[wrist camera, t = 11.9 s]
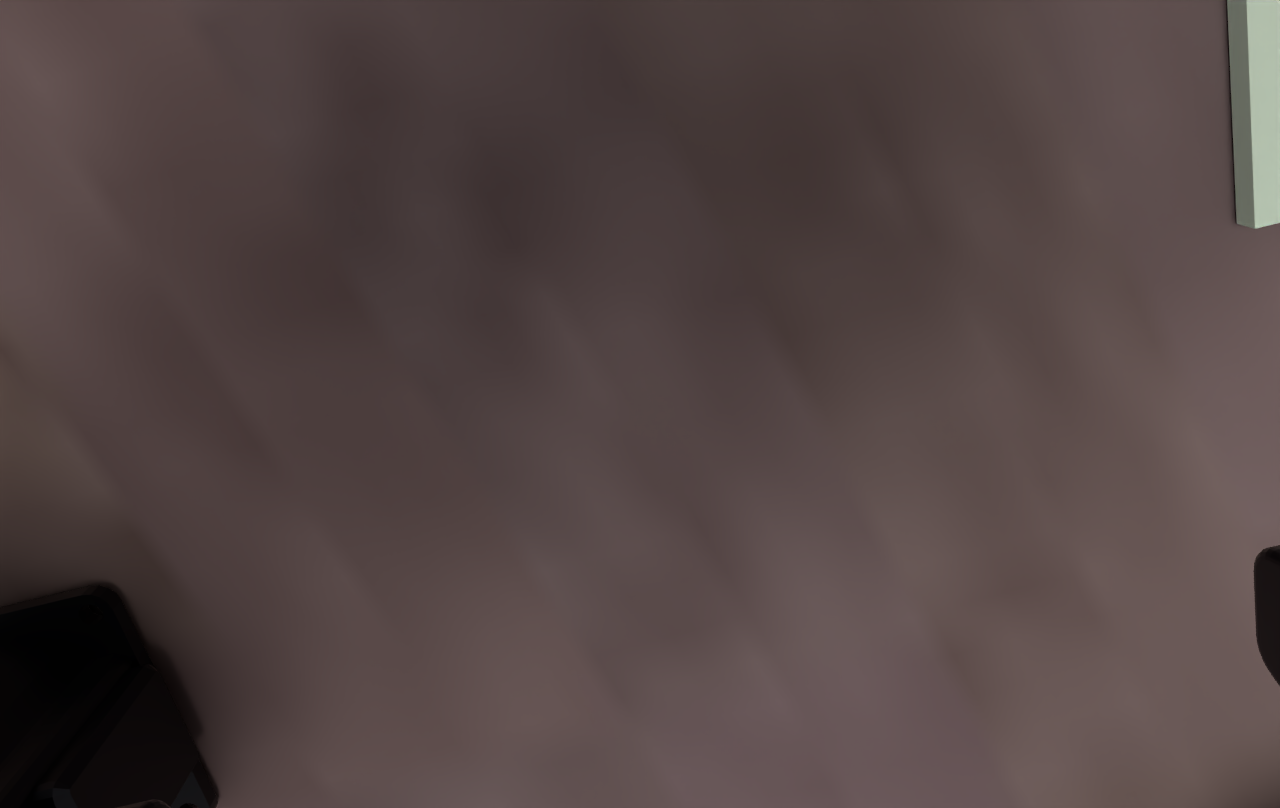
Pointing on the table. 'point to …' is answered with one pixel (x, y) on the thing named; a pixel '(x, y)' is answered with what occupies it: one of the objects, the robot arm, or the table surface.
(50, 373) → the table surface
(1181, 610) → the table surface
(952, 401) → the table surface
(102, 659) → the robot arm
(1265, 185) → the mat
